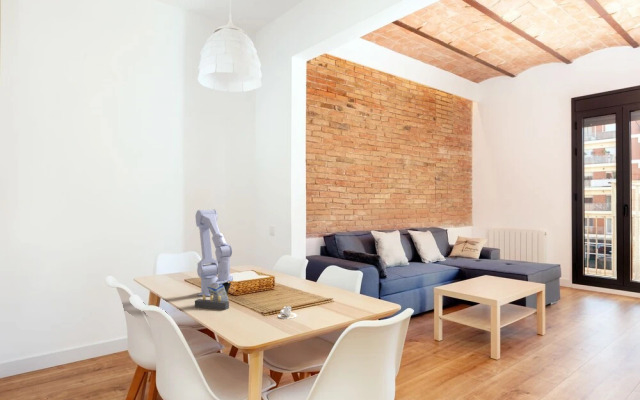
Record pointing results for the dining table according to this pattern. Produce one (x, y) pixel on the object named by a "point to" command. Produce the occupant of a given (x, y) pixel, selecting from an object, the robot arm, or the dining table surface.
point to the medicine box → (218, 292)
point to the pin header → (212, 303)
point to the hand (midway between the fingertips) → (224, 298)
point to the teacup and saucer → (286, 312)
